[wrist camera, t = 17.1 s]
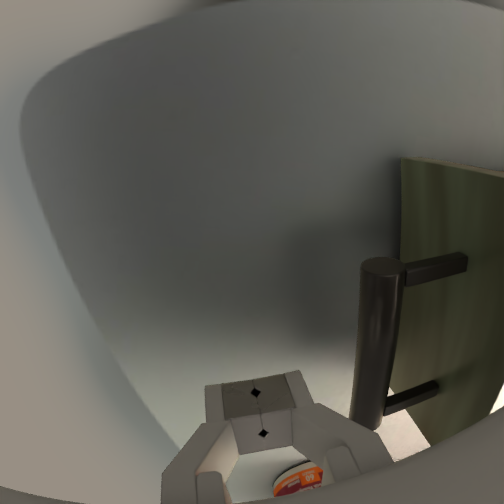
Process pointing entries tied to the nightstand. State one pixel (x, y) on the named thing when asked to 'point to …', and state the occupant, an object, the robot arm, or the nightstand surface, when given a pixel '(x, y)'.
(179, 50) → the nightstand surface
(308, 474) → the pill bottle
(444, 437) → the drawer
